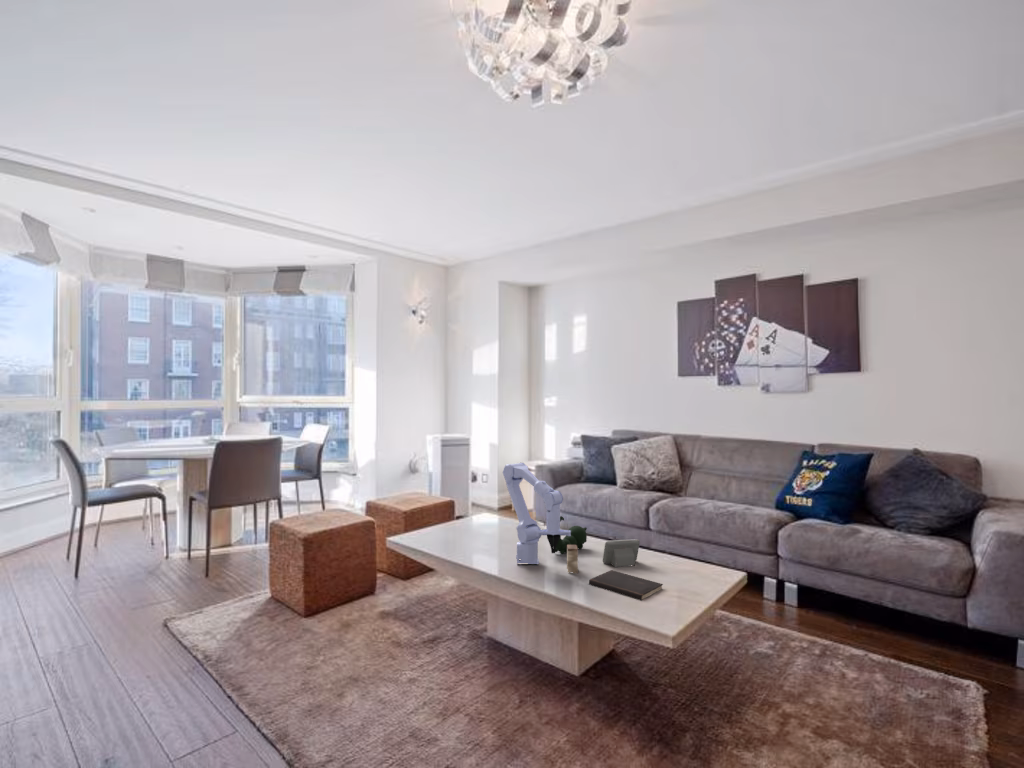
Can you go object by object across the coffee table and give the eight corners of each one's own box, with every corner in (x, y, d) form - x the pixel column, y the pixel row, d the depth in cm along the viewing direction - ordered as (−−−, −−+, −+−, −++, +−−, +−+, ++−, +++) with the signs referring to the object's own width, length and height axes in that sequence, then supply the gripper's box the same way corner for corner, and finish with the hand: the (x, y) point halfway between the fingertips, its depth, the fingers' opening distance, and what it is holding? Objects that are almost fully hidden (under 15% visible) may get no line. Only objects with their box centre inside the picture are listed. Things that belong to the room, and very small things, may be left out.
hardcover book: (611, 575, 213) (611, 569, 213) (662, 590, 197) (662, 584, 197) (588, 585, 201) (588, 579, 202) (641, 601, 186) (641, 595, 186)
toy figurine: (561, 562, 233) (595, 546, 250) (559, 521, 232) (593, 507, 249) (546, 557, 239) (579, 542, 257) (543, 517, 239) (577, 504, 256)
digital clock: (637, 560, 231) (637, 536, 231) (642, 567, 222) (642, 542, 222) (600, 560, 230) (600, 536, 231) (604, 567, 221) (604, 542, 222)
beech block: (568, 573, 214) (568, 548, 214) (567, 568, 220) (567, 544, 220) (577, 573, 214) (577, 548, 214) (576, 568, 220) (576, 544, 220)
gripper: (536, 522, 214) (536, 555, 214) (571, 522, 213) (571, 555, 213) (535, 518, 221) (535, 550, 221) (569, 518, 220) (569, 550, 220)
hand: (553, 552), depth 217 cm, fingers closed
